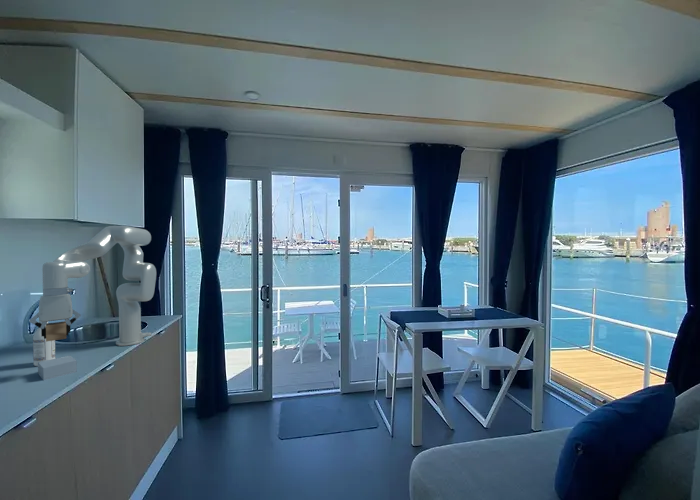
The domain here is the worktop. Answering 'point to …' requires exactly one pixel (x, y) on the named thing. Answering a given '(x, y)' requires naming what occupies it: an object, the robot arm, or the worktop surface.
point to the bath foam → (42, 348)
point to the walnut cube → (55, 331)
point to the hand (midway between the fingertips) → (56, 335)
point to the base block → (57, 367)
